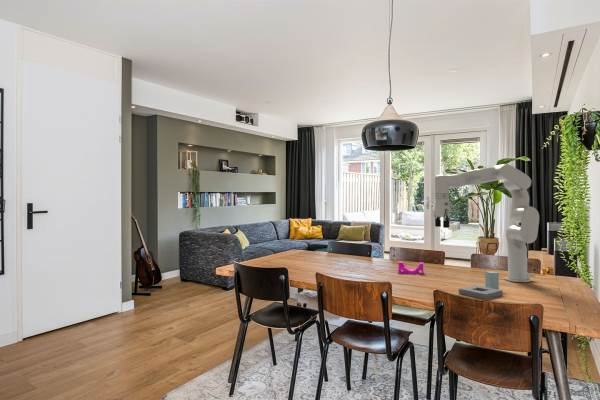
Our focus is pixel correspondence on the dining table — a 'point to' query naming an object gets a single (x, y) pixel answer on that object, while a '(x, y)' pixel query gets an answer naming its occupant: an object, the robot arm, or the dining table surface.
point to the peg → (492, 279)
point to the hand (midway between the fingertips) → (442, 227)
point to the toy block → (410, 271)
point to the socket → (480, 292)
